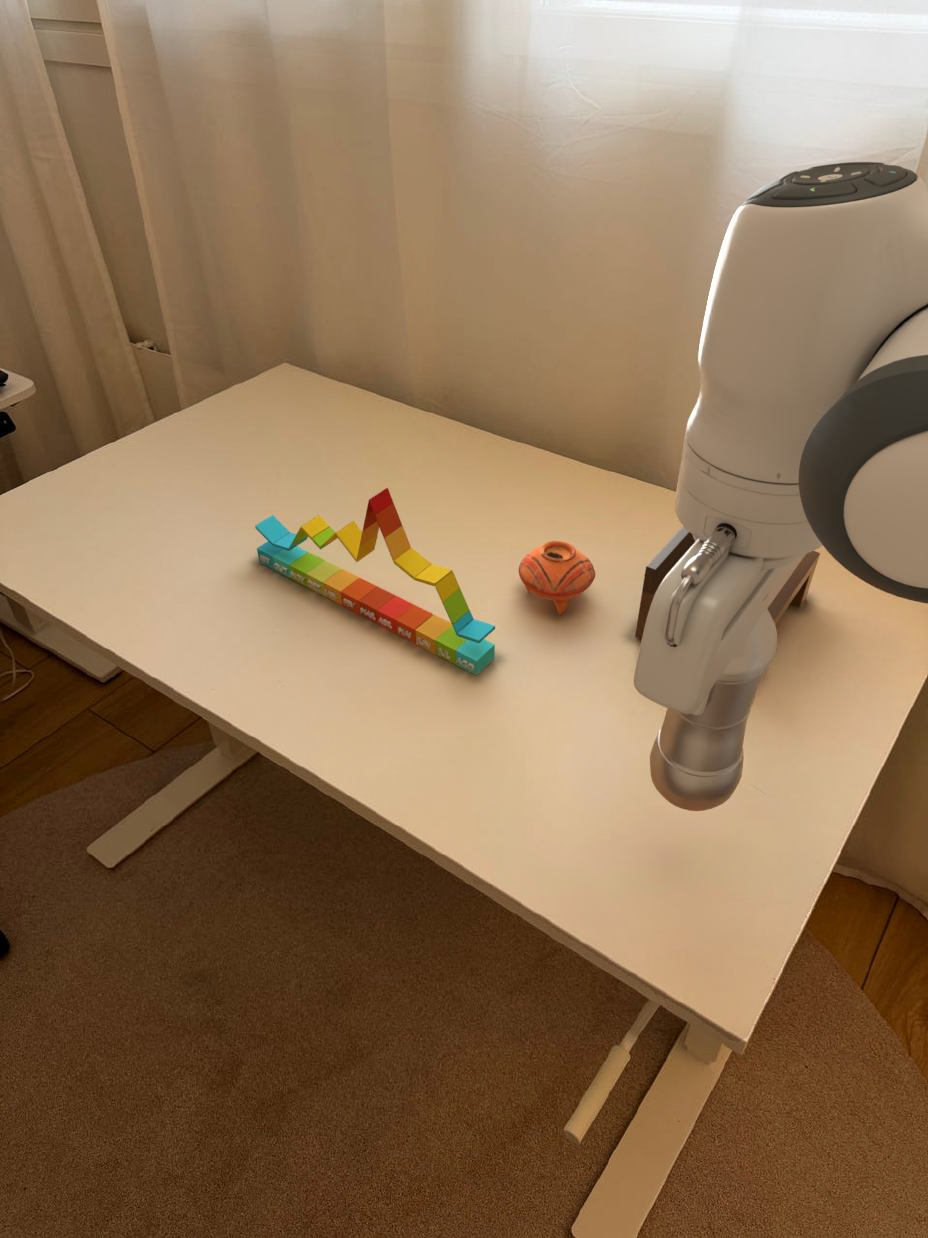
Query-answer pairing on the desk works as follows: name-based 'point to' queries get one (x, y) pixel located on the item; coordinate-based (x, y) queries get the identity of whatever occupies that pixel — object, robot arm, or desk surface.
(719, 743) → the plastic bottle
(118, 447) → the desk surface
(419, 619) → the chart
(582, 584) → the pot
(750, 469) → the robot arm
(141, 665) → the desk surface
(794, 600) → the shelf
